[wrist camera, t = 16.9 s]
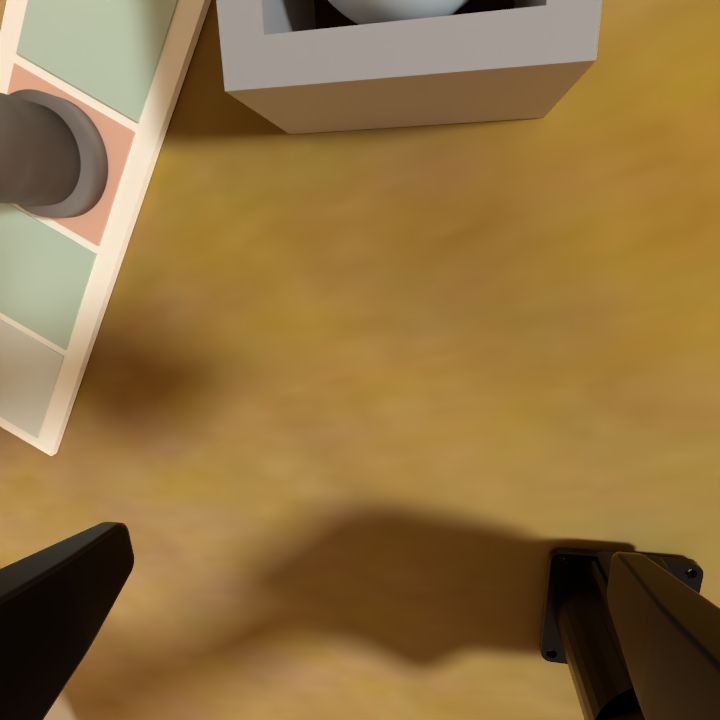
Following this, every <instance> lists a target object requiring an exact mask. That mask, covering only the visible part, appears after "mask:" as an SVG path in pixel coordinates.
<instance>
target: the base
mask: <svg viewBox="0 0 720 720" xmlns="http://www.w3.org/2000/svg"><path fill="white" fill-rule="evenodd" d="M216 3H217V14H218V24H219V35H220V46H221V56H222V67H223V77H224V88H225V92H227V93H228V94H230V95H231V96H233V97H234V98H236V99H237V100H239V101H240V102H242V103H243V104H245V105H246V106H248V107H249V108H251V109H252V110H254V111H255V112H257V113H258V114H260V115H261V116H263V117H264V118H266V119H267V120H269V121H270V122H272V123H273V124H275V125H276V126H278V127H279V128H281V129H282V130H284V131H285V132H287V133H289V134H303V133H318V132H333V131H349V130H364V129H379V128H394V127H410V126H425V125H440V124H455V123H471V122H486V121H501V120H517V119H532V118H544V117H545V115H546V114H547V113H548V112H549V111H550V110H551V109H552V108H553V107H554V106H555V105H556V103H557V102H558V101H559V100H560V99H561V98H562V97H563V96H564V95H565V94H566V93H567V91H568V90H569V89H570V88H571V87H572V86H573V85H574V84H575V83H576V82H577V81H578V79H579V78H580V77H581V76H582V75H583V74H584V73H585V72H586V71H587V70H588V69H589V67H590V66H591V65H592V64H593V63H594V62H595V61H596V57H597V47H598V37H599V28H600V18H601V8H602V0H514V9H506V10H496V11H487V12H477V13H468V14H458V15H449V16H439V17H429V18H420V19H410V20H401V21H391V22H382V23H372V24H363V25H353V26H343V27H334V28H324V29H316V28H315V5H314V0H216Z"/></svg>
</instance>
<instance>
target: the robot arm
mask: <svg viewBox="0 0 720 720" xmlns="http://www.w3.org/2000/svg"><path fill="white" fill-rule="evenodd" d="M559 558H565V559H564V560H563V561H557V560H558V559H559ZM133 565H134V554H133V549H132V545H131V540H130V536H129V531H128V528H127V526H126V525H125V524H123V523H117V522H103V523H100V524H98V525H96V526H94V527H91V528H89V529H87V530H85V531H83V532H80V533H78V534H76V535H74V536H72V537H70V538H67V539H65V540H63V541H61V542H59V543H56V544H54V545H52V546H50V547H48V548H45V549H43V550H41V551H39V552H37V553H34V554H32V555H30V556H28V557H26V558H24V559H21V560H19V561H17V562H15V563H13V564H10V565H8V566H6V567H4V568H2V569H0V720H43V719H44V717H45V716H46V714H47V713H48V711H49V710H50V708H51V707H52V705H53V704H54V702H55V701H56V699H57V698H58V696H59V694H60V693H61V691H62V690H63V688H64V687H65V685H66V684H67V682H68V681H69V679H70V678H71V676H72V675H73V673H74V672H75V670H76V668H77V667H78V665H79V664H80V662H81V661H82V659H83V658H84V656H85V654H86V653H87V651H88V650H89V648H90V646H91V644H92V643H93V641H94V639H95V637H96V636H97V634H98V632H99V630H100V628H101V626H102V625H103V623H104V621H105V619H106V617H107V615H108V614H109V612H110V610H111V608H112V606H113V604H114V602H115V601H116V599H117V597H118V595H119V593H120V591H121V590H122V588H123V586H124V584H125V582H126V580H127V578H128V577H129V575H130V573H131V571H132V568H133ZM689 569H692V570H691V571H690V572H686V571H687V570H689ZM702 579H703V570H702V569H701V567H700V566H699V565H698V564H697V562H696V561H694V560H692V559H688V558H676V557H664V556H657V555H645V554H640V553H628V552H610V551H593V550H581V549H569V548H556V549H553V550H552V551H551V552H550V554H549V560H548V570H547V579H546V589H545V599H544V608H543V618H542V628H541V637H540V651H541V655H542V657H543V658H544V659H545V660H547V661H550V662H557V663H565V664H568V666H569V669H570V673H571V676H572V679H573V683H574V686H575V689H576V693H577V696H578V699H579V703H580V706H581V709H582V713H583V716H584V719H585V720H720V608H719V607H717V606H716V605H714V604H713V603H711V602H710V601H709V600H707V599H706V598H704V597H703V596H701V595H700V594H699V592H700V588H701V583H702ZM549 650H553V651H549Z"/></svg>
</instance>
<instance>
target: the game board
mask: <svg viewBox="0 0 720 720" xmlns="http://www.w3.org/2000/svg"><path fill="white" fill-rule="evenodd" d="M210 2H211V0H7V2H6V7H5V12H4V16H3V21H2V26H1V31H0V93H4V94H7V95H9V94H11V93H13V92H15V91H18V90H23V89H33V90H39V91H42V92H45V93H48V94H51V95H54V96H57V97H60V98H63V99H66V100H68V101H70V102H72V103H74V104H75V105H77V106H78V107H79V108H80V109H82V110H83V111H84V112H85V113H86V114H87V115H88V116H89V117H90V119H91V120H92V121H93V123H94V124H95V126H96V127H97V129H98V131H99V133H100V135H101V137H102V139H103V142H104V145H105V148H106V153H107V158H108V179H107V184H106V187H105V190H104V193H103V195H102V197H101V199H100V200H99V202H98V203H97V204H96V205H95V206H94V207H93V208H92V209H91V210H90V211H88V212H87V213H85V214H83V215H80V216H77V217H71V218H61V217H42V216H38V215H35V214H32V213H30V212H28V211H26V210H24V209H23V208H21V207H20V206H19V205H17V204H9V203H0V427H2V428H4V429H5V430H7V431H9V432H11V433H12V434H14V435H16V436H17V437H19V438H21V439H23V440H24V441H26V442H28V443H29V444H31V445H33V446H35V447H36V448H38V449H40V450H41V451H43V452H45V453H47V454H48V455H50V456H52V455H54V454H56V453H57V451H58V448H59V446H60V443H61V440H62V437H63V434H64V431H65V428H66V425H67V422H68V419H69V416H70V413H71V410H72V407H73V404H74V402H75V399H76V396H77V393H78V390H79V387H80V384H81V381H82V378H83V375H84V372H85V369H86V366H87V363H88V360H89V357H90V355H91V352H92V349H93V346H94V343H95V340H96V337H97V334H98V331H99V328H100V325H101V322H102V319H103V316H104V313H105V311H106V308H107V305H108V302H109V299H110V296H111V293H112V290H113V287H114V284H115V281H116V278H117V275H118V272H119V269H120V267H121V264H122V261H123V258H124V255H125V252H126V249H127V246H128V243H129V240H130V237H131V234H132V231H133V228H134V225H135V223H136V220H137V217H138V214H139V211H140V208H141V205H142V202H143V199H144V196H145V193H146V190H147V187H148V184H149V181H150V178H151V176H152V173H153V170H154V167H155V164H156V161H157V158H158V155H159V152H160V149H161V146H162V143H163V140H164V137H165V134H166V132H167V129H168V126H169V123H170V120H171V117H172V114H173V111H174V108H175V105H176V102H177V99H178V96H179V93H180V90H181V88H182V85H183V82H184V79H185V76H186V73H187V70H188V67H189V64H190V61H191V58H192V55H193V52H194V49H195V46H196V44H197V41H198V38H199V35H200V32H201V29H202V26H203V23H204V20H205V17H206V14H207V11H208V8H209V5H210Z"/></svg>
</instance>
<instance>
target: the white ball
mask: <svg viewBox="0 0 720 720" xmlns="http://www.w3.org/2000/svg"><path fill="white" fill-rule="evenodd" d="M328 1H329V2H330V3H331V4H332V5H333V6H334V7H335V8H336V9H337V10H338V11H340V12H341V13H342V14H343V15H344V16H346V17H347V18H349V19H350V20H352V21H353V22H355V23H357V24H359V25H363V24H372V23H382V22H391V21H401V20H410V19H420V18H429V17H439V16H449V15H452V14H454V13H455V12H456V11H458V10H459V9H460V8H461V7H462V6H463V5H465V4H466V3H467V2H468V1H469V0H328Z"/></svg>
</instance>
